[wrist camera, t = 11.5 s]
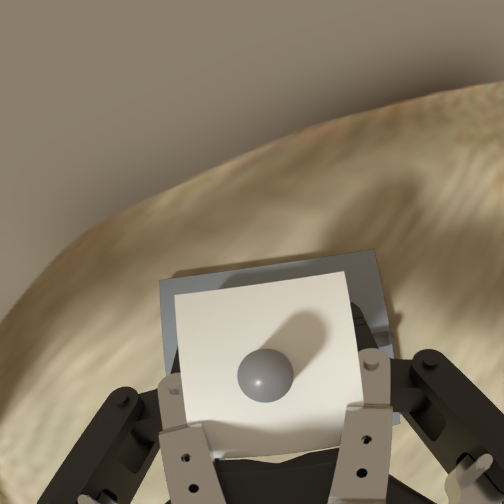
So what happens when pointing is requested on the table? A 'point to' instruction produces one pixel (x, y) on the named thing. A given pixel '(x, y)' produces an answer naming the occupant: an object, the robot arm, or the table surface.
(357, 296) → the charging dock
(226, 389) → the block
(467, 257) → the table surface
